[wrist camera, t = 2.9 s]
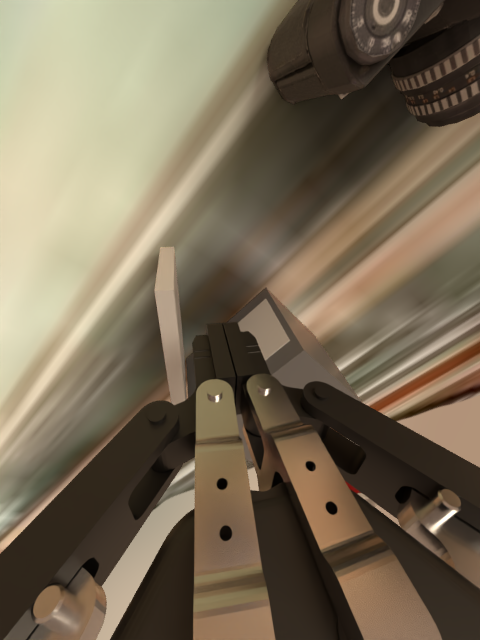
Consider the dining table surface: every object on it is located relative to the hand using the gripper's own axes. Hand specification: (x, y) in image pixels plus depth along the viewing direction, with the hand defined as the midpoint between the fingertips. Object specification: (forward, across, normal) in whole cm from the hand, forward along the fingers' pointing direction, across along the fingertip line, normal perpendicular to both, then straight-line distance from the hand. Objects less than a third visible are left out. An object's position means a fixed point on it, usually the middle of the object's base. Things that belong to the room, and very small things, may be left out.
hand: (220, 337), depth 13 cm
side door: (+10, +3, +5) cm, 12 cm away
